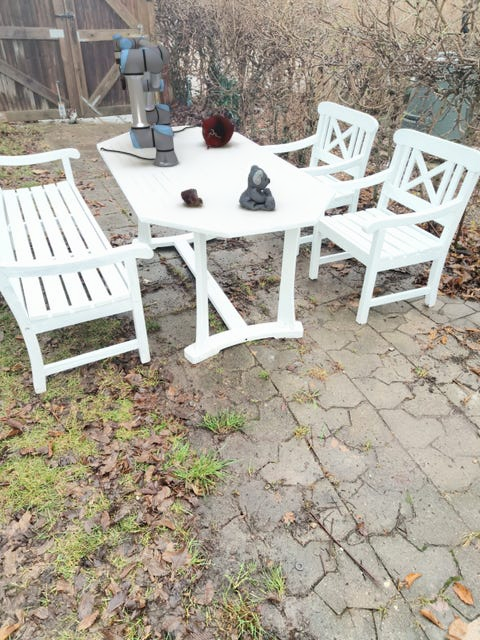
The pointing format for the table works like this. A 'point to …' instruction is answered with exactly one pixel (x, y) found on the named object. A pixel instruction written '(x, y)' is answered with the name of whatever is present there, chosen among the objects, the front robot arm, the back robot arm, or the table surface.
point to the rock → (191, 197)
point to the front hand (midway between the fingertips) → (142, 135)
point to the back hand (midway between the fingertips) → (124, 88)
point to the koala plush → (257, 191)
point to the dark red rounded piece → (217, 130)
